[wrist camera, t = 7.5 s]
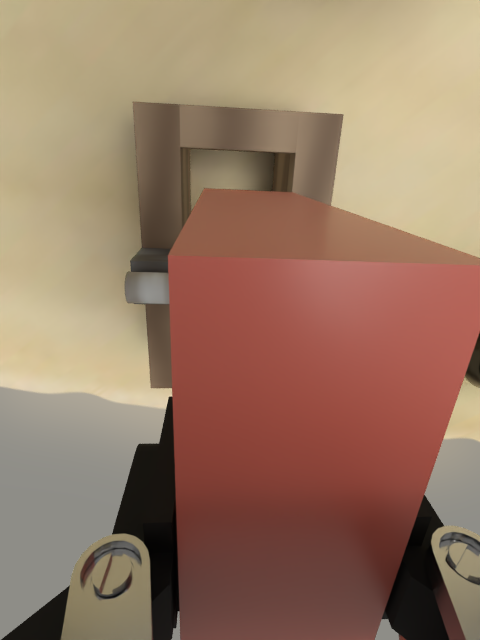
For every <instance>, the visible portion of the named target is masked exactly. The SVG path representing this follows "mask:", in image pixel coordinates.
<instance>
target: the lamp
mask: <svg viewBox="0 0 480 640" xmlns="http://www.w3.org/2000/svg"><path fill="white" fill-rule="evenodd" d="M464 378H465V379H466V380H468V381H469V382H470V383H471V384H473V385H474V386H476V387H478V388H480V333H479V336H478V338H477V341H476V344H475V347H474V350H473V353H472V356H471V359H470V362H469V365H468V368H467V371H466V374H465V376H464Z"/></svg>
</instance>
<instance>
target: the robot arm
mask: <svg viewBox="0 0 480 640" xmlns="http://www.w3.org/2000/svg"><path fill="white" fill-rule="evenodd" d="M178 611H180V609H179V578H178V548H177V518H176V487H175V457H174V426H173V397H169V399H168V404H167V408H166V414H165V418H164V423H163V428H162V433H161V438H160V442H159V444H139V445H138V446H137V449H136V452H135V455H134V459H133V462H132V466H131V469H130V473H129V476H128V480H127V484H126V487H125V491H124V494H123V498H122V501H121V505H120V508H119V512H118V515H117V519H116V522H115V526H114V529H113V533H112V535H110V536H107V537H104V538H102V539H100V540H98V541H97V542H95V543H93V544H92V545H91V546H90V547H89V548H88V549H87V550H86V551H85V552H84V553H83V554H82V555H81V557H80V558H79V560H78V561H77V563H76V565H75V567H74V570H73V573H72V576H71V582H70V586H69V587H67V588H66V589H65V590H64V591H63V592H61V593H60V594H58V595H57V596H56V597H55V598H53V599H52V600H51V601H50V602H48V603H47V604H46V605H45V606H43V607H42V608H41V609H39V611H37V612H36V613H34V614H33V615H32V616H31V617H29V618H28V619H27V620H26V621H24V622H23V623H22V624H20V625H19V626H18V627H17V628H15V629H14V630H13V631H12V632H10V633H9V634H8V635H7V636H5V637H4V638H3V639H2V640H171V639H172V634H173V628H176V624H177V613H178ZM382 619H389V622H390V625H391V627H392V629H394V630H395V631H396V632H397V633H399V640H480V536H479V535H477V534H476V533H473V532H471V531H469V530H467V529H465V528H461V527H457V526H444V525H443V523H442V522H441V520H440V519H439V517H438V516H437V514H436V512H435V511H434V509H433V508H432V506H431V504H430V503H429V501H428V500H427V498H426V496H425V495H424V496H423V499H422V502H421V505H420V508H419V511H418V514H417V517H416V520H415V523H414V526H413V529H412V531H411V534H410V537H409V540H408V543H407V546H406V549H405V552H404V555H403V558H402V561H401V564H400V567H399V569H398V572H397V575H396V578H395V581H394V584H393V587H392V590H391V593H390V596H389V599H388V602H387V605H386V607H385V610H384V613H383V616H382Z"/></svg>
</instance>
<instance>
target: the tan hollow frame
mask: <svg viewBox="0 0 480 640" xmlns="http://www.w3.org/2000/svg"><path fill="white" fill-rule="evenodd" d="M133 112H134V128H135V144H136V160H137V176H138V192H139V208H140V224H141V239H142V248H141V250H140V251H139V252H138V253H137V254H136V255H135V256H134V257H133V258H132V259H131V260H130V263H131V272H127V274H126V278H125V296H126V300H127V302H128V303H134V304H146V319H147V335H148V350H149V366H150V382H151V388H172V366H171V335H170V305H169V274H168V254H169V252H170V251H171V249H172V247H173V245H174V243H175V241H176V239H177V238H178V236H179V234H180V232H181V230H182V228H183V227H184V225H185V223H186V221H187V219H188V217H189V216H190V214H191V190H190V149H208V150H227V151H247V152H266V153H275V157H274V170H273V184H272V191H274V192H293V193H296V194H299V195H302V196H305V197H307V198H310V199H313V200H316V201H319V202H322V203H325V204H327V205H330V206H331V201H332V194H333V186H334V179H335V172H336V165H337V157H338V150H339V143H340V135H341V128H342V121H343V114H328V113H311V112H295V111H278V110H261V109H245V108H228V107H212V106H195V105H178V104H162V103H145V102H133Z"/></svg>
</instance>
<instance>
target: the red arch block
mask: <svg viewBox="0 0 480 640" xmlns="http://www.w3.org/2000/svg"><path fill="white" fill-rule="evenodd" d="M168 274H169V305H170V335H171V366H172V396H173V426H174V457H175V487H176V518H177V548H178V578H179V609H180V639H181V640H375V637H376V634H377V631H378V628H379V625H380V622H381V619H382V616H383V613H384V610H385V607H386V605H387V602H388V599H389V596H390V593H391V590H392V587H393V584H394V581H395V578H396V575H397V572H398V569H399V567H400V564H401V561H402V558H403V555H404V552H405V549H406V546H407V543H408V540H409V537H410V534H411V531H412V529H413V526H414V523H415V520H416V517H417V514H418V511H419V508H420V505H421V502H422V499H423V496H424V493H425V491H426V488H427V485H428V482H429V479H430V476H431V473H432V470H433V467H434V464H435V461H436V458H437V455H438V452H439V449H440V447H441V443H442V441H443V438H444V435H445V432H446V429H447V426H448V423H449V420H450V417H451V414H452V412H453V409H454V406H455V403H456V400H457V397H458V394H459V391H460V388H461V385H462V382H463V379H464V376H465V374H466V371H467V368H468V365H469V362H470V359H471V356H472V353H473V350H474V347H475V344H476V341H477V338H478V336H479V333H480V258H478V257H475V256H472V255H469V254H467V253H464V252H461V251H458V250H455V249H452V248H449V247H447V246H444V245H441V244H438V243H435V242H432V241H430V240H427V239H424V238H421V237H418V236H415V235H413V234H410V233H407V232H404V231H401V230H398V229H396V228H393V227H390V226H387V225H384V224H381V223H378V222H376V221H373V220H370V219H367V218H364V217H361V216H359V215H356V214H353V213H350V212H347V211H344V210H342V209H339V208H336V207H333V206H330V205H327V204H325V203H322V202H319V201H316V200H313V199H310V198H307V197H305V196H302V195H299V194H296V193H293V192H274V191H252V190H231V189H209V188H204V190H203V192H202V193H201V195H200V197H199V199H198V201H197V203H196V205H195V206H194V208H193V210H192V212H191V214H190V216H189V217H188V219H187V221H186V223H185V225H184V227H183V228H182V230H181V232H180V234H179V236H178V238H177V239H176V241H175V243H174V245H173V247H172V249H171V251H170V252H169V254H168Z"/></svg>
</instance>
